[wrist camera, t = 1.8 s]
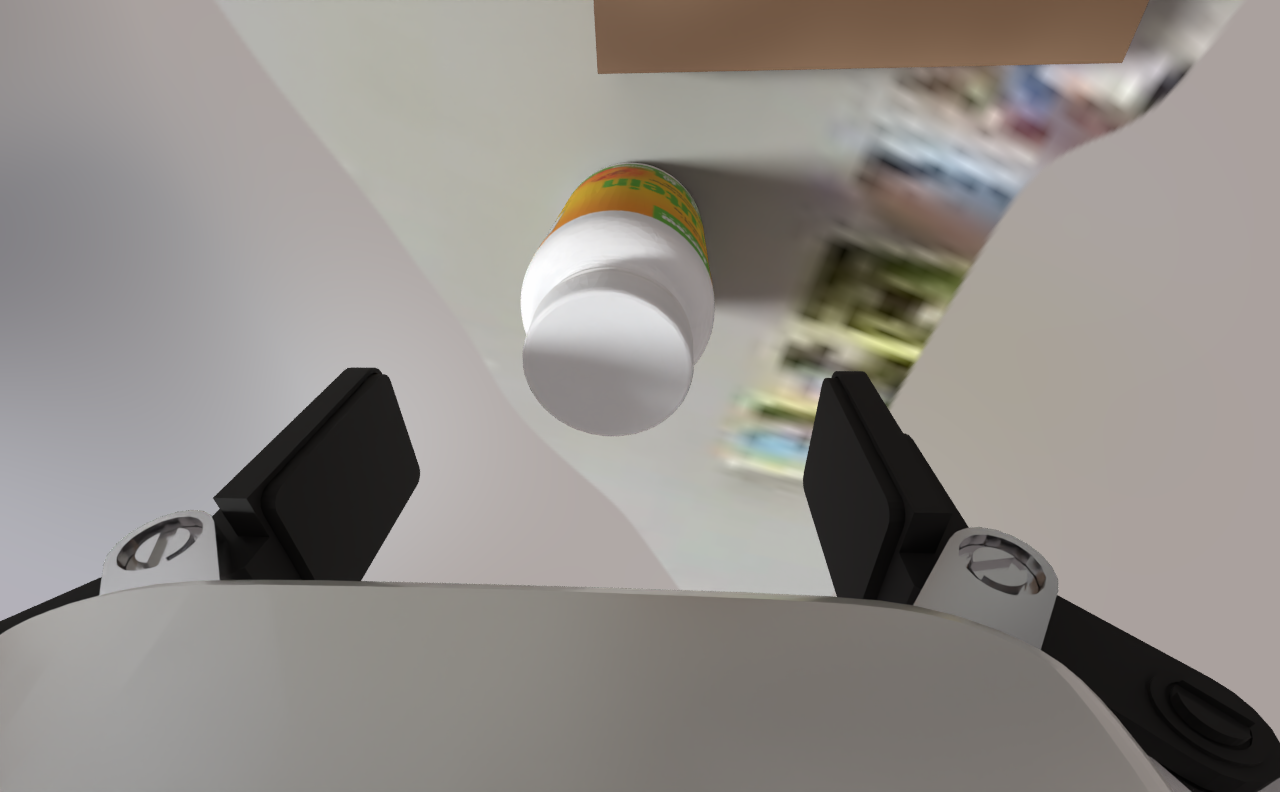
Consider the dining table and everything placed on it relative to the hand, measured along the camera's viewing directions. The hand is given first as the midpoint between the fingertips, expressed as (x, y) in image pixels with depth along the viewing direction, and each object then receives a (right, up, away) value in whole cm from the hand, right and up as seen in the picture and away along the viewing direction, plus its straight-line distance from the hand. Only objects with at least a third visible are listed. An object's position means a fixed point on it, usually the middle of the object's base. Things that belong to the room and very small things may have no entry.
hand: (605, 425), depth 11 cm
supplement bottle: (0, +7, +9) cm, 11 cm away
